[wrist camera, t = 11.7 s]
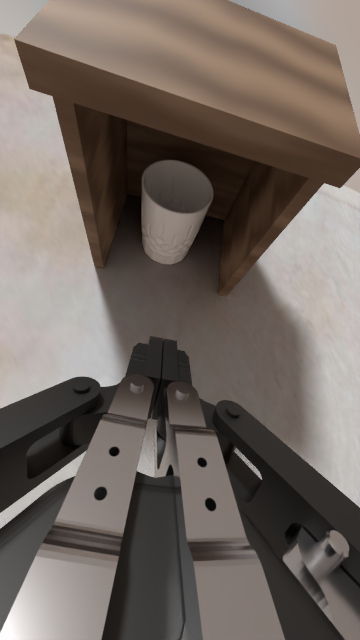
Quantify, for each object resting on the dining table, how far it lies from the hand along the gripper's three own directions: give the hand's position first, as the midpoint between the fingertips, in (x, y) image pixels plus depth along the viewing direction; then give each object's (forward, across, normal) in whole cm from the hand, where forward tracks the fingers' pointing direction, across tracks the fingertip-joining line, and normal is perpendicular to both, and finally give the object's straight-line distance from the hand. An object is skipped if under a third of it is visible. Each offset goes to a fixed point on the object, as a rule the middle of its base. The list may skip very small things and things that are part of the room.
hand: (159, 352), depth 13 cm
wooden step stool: (+25, 0, -4) cm, 25 cm away
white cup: (+24, +1, -3) cm, 25 cm away
